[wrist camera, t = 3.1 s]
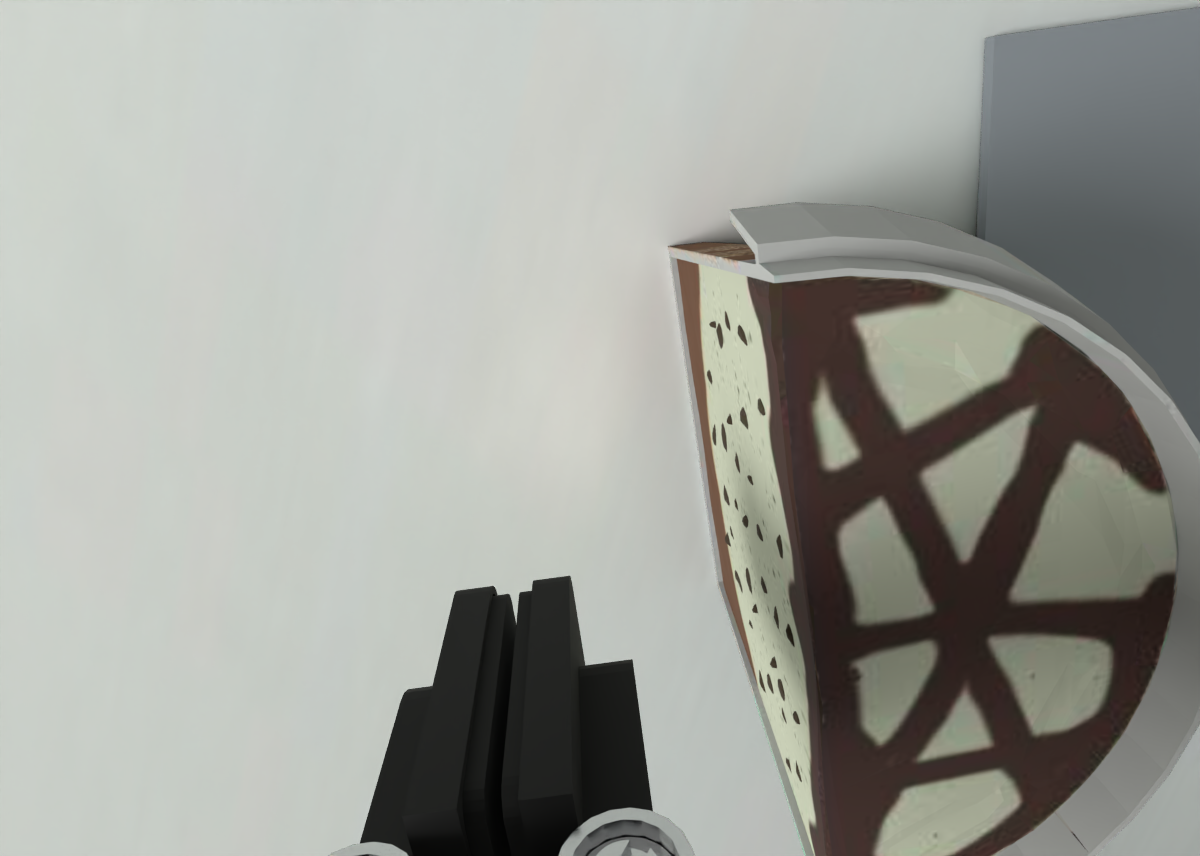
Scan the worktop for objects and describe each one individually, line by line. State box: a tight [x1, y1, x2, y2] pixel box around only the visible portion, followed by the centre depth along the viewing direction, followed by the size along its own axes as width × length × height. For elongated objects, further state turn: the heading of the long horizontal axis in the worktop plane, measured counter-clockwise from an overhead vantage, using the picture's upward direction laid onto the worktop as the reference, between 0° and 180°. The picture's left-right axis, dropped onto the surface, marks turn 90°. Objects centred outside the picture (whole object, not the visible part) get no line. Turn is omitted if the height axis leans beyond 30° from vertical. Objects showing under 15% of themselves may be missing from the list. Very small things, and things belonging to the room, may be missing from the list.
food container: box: [668, 203, 1200, 856], centre depth 15 cm, size 12×6×10 cm, turn 10°
